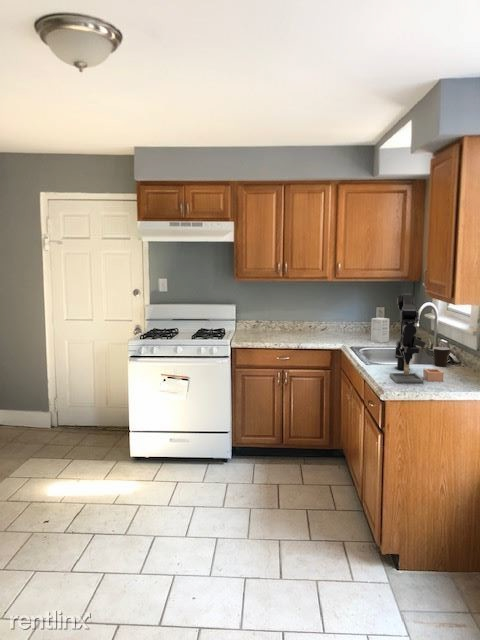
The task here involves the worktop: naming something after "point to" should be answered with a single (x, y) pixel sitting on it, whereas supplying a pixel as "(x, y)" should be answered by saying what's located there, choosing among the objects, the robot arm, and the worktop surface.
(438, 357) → the coffee mug
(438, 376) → the terracotta square hollow block
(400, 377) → the charcoal tray
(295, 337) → the worktop surface
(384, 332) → the supplement box
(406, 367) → the dowel pin
